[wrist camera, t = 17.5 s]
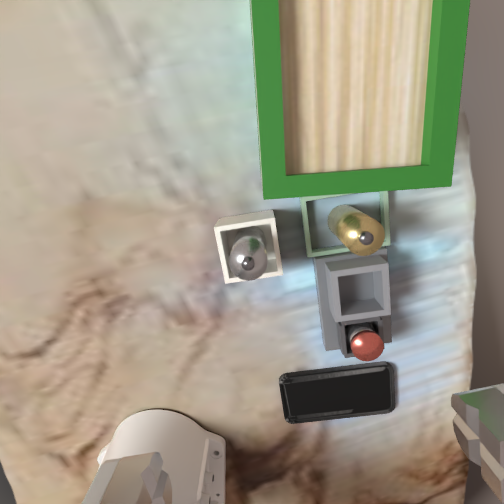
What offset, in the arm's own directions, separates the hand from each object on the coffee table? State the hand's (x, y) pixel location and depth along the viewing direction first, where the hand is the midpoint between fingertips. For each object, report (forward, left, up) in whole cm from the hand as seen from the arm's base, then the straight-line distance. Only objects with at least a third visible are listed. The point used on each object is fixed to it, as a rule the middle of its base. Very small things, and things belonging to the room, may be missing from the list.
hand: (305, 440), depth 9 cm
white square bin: (-2, +3, -30) cm, 30 cm away
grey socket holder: (-11, -8, -30) cm, 33 cm away
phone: (-25, -5, -31) cm, 40 cm away
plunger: (-14, -8, -27) cm, 32 cm away
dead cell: (-2, +3, -30) cm, 30 cm away
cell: (-1, -8, -30) cm, 31 cm away
